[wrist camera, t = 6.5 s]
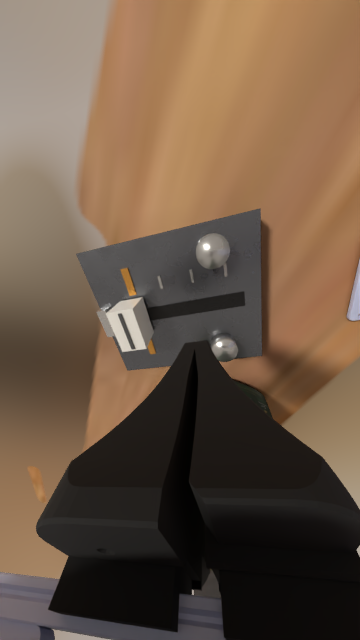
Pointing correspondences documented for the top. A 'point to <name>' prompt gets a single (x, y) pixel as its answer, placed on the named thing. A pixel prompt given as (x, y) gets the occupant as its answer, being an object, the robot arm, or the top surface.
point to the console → (186, 288)
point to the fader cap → (131, 324)
